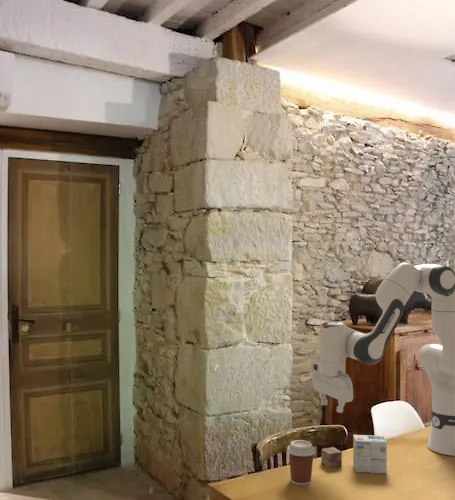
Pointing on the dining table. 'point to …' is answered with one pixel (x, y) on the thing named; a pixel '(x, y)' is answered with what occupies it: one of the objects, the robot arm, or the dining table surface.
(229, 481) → the dining table surface
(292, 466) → the coffee cup
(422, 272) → the robot arm
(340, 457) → the walnut cube
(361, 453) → the light bulb box
